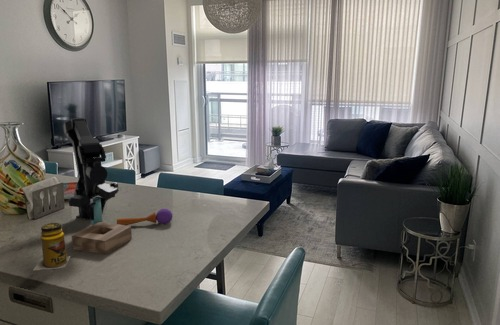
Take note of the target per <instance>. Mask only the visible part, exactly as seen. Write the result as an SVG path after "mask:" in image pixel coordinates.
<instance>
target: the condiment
mask: <svg viewBox="0 0 500 325" xmlns="http://www.w3.org/2000/svg"><path fill="white" fill-rule="evenodd" d="M40 230H41V235H40V241H41V242H40V243H41V250H42V257H41V258H39V261H38V262H37V264H36V265H35V267H34V268H33V269H32V271H40V270H41V271H42V270H54V269H55V270H56V269H63V268H66V266H67V264H68V263H69V260H70V259H71V255H69V256H67V251H66V240H65V233H64V232H63V229H62V224H61V223H60V222H50V223H46V224H44V225H42V226H41V228H40Z"/></svg>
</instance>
